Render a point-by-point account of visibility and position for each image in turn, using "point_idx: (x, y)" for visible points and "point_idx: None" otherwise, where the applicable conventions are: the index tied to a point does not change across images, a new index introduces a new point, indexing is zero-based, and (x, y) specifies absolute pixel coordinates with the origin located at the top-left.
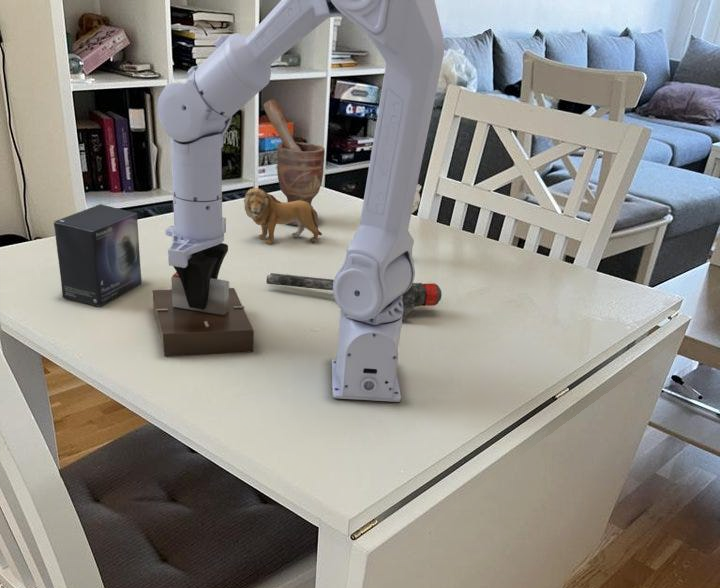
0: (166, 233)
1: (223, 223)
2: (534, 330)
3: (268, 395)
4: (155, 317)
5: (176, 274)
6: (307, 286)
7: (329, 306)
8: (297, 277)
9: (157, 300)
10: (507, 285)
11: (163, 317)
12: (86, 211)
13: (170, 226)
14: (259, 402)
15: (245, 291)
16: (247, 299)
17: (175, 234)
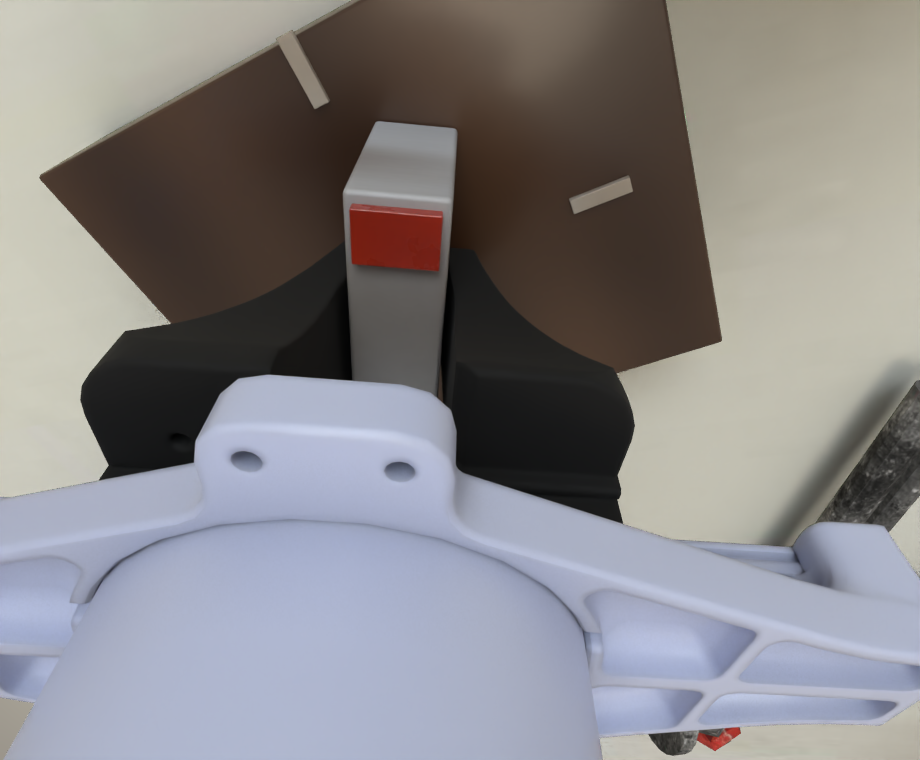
0: (216, 408)
1: (698, 728)
2: (623, 750)
3: (97, 475)
4: None
5: (369, 231)
6: (828, 509)
7: (725, 528)
8: (911, 486)
9: None
10: (856, 741)
11: (218, 112)
12: None
13: (396, 451)
14: (48, 464)
15: (897, 290)
16: (795, 315)
17: (125, 552)
